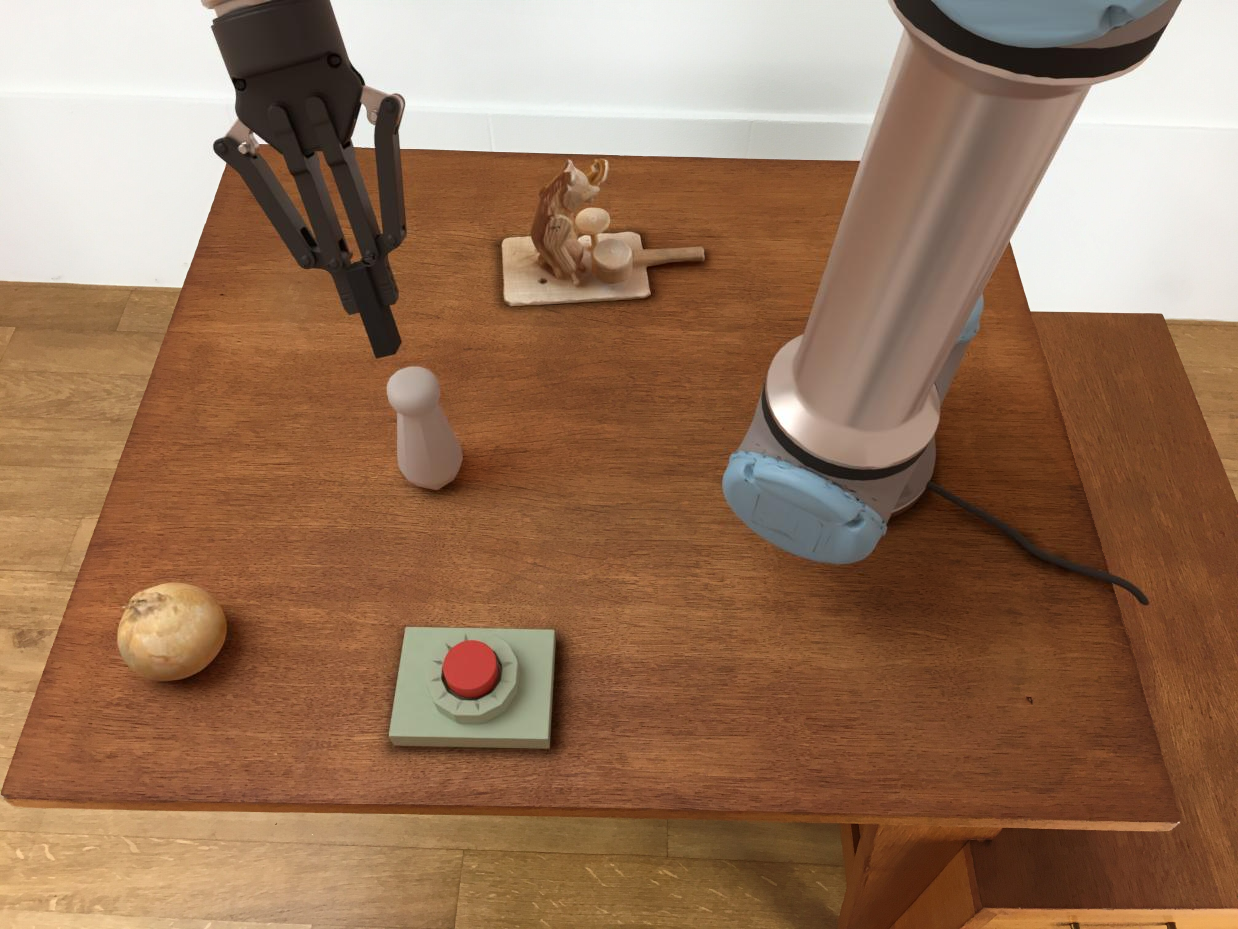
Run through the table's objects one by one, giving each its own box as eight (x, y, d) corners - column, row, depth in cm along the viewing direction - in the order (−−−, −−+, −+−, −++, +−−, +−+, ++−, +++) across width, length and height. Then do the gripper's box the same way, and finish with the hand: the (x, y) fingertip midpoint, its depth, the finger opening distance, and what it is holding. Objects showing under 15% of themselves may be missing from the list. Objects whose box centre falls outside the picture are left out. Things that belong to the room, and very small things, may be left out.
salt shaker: (454, 503, 87) (433, 414, 76) (393, 492, 87) (364, 402, 77) (473, 452, 90) (455, 360, 80) (414, 442, 91) (389, 349, 80)
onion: (239, 597, 81) (210, 555, 75) (232, 686, 77) (202, 648, 71) (140, 610, 80) (104, 569, 75) (128, 700, 76) (88, 664, 70)
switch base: (555, 640, 79) (553, 619, 76) (549, 749, 74) (547, 730, 71) (410, 638, 79) (401, 616, 76) (393, 746, 74) (383, 727, 71)
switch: (500, 649, 75) (498, 640, 73) (496, 699, 73) (493, 690, 71) (449, 648, 75) (446, 639, 73) (443, 698, 73) (439, 689, 71)
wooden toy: (501, 306, 101) (488, 203, 90) (501, 239, 107) (489, 134, 96) (710, 298, 102) (722, 194, 91) (698, 232, 108) (709, 127, 97)
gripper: (378, -23, 63) (480, 315, 74) (191, 25, 64) (317, 352, 74) (353, -25, 57) (469, 347, 67) (144, 29, 57) (290, 388, 68)
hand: (389, 350), depth 71 cm, fingers closed
